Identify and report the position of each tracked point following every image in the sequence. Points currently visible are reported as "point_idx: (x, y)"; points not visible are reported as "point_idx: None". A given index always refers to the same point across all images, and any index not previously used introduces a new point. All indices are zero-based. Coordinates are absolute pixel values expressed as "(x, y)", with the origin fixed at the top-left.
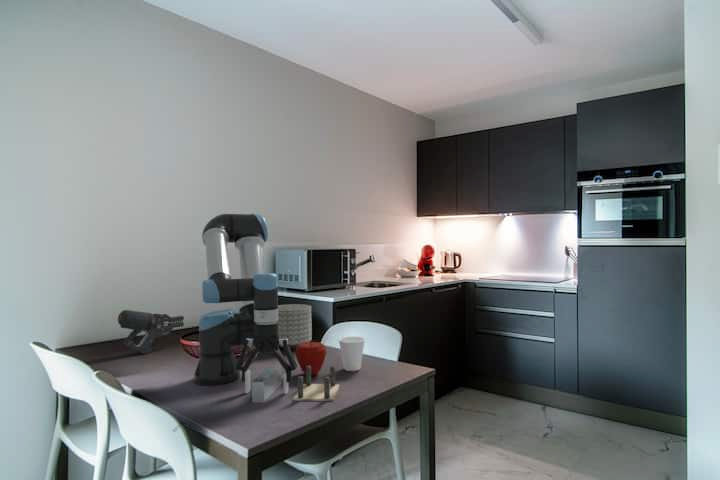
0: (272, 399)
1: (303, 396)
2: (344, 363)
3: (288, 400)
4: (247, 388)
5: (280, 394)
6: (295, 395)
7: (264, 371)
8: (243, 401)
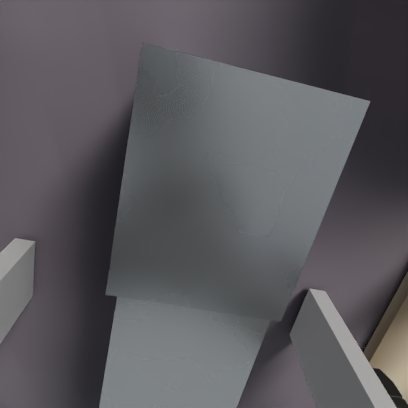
0: None
1: None
2: None
3: (308, 402)
4: (16, 319)
5: None
6: None
7: (121, 362)
8: (52, 392)
